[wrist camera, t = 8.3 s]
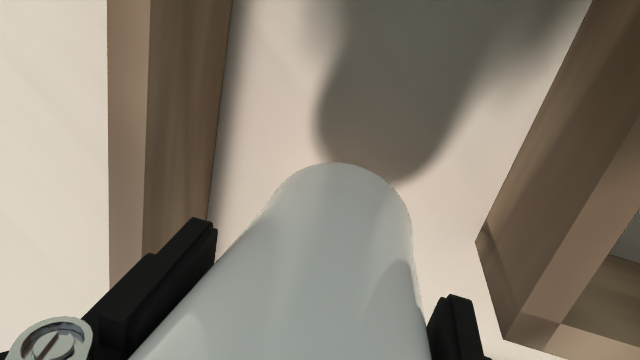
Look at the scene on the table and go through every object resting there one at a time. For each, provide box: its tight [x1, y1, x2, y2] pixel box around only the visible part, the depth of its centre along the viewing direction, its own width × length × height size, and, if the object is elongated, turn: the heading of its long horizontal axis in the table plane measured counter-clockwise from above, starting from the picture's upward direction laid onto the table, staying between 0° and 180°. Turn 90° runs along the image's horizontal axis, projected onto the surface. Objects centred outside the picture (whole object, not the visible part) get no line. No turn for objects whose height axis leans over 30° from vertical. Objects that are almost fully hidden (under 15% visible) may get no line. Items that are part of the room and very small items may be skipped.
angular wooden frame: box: [107, 0, 640, 360], centre depth 15 cm, size 25×28×6 cm
